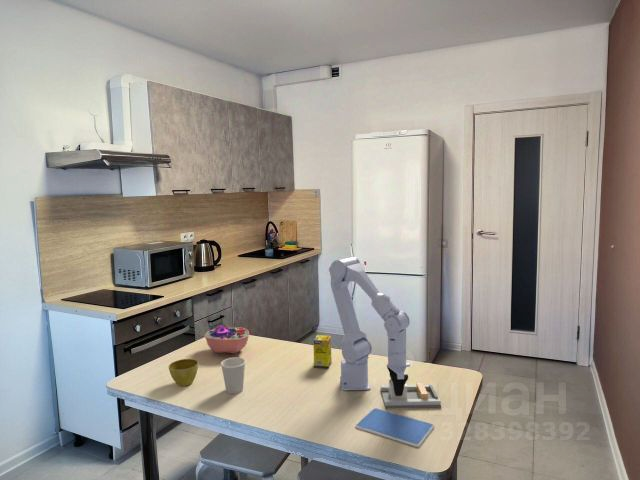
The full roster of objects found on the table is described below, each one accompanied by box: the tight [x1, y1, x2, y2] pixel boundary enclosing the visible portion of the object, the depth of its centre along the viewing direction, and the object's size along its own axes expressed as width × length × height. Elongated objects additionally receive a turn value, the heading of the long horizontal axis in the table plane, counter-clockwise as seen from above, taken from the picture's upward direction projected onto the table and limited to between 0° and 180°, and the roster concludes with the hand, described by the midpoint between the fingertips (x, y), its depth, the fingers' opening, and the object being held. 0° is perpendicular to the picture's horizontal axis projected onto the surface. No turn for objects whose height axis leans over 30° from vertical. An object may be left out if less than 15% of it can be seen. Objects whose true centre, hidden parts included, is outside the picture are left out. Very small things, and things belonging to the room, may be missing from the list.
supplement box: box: [312, 334, 333, 369], centre depth 171 cm, size 6×6×11 cm
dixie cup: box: [220, 357, 247, 395], centre depth 151 cm, size 8×8×10 cm
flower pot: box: [168, 358, 199, 387], centre depth 158 cm, size 10×10×7 cm
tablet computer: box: [354, 407, 435, 448], centre depth 126 cm, size 19×13×1 cm, turn 56°
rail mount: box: [380, 383, 442, 409], centre depth 143 cm, size 17×13×2 cm
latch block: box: [415, 382, 428, 399], centre depth 143 cm, size 2×8×2 cm, turn 179°
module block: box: [388, 378, 408, 399], centre depth 143 cm, size 5×5×4 cm
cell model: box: [203, 324, 250, 354], centre depth 187 cm, size 17×20×11 cm
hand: (397, 391), depth 143 cm, fingers closed on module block, 5 cm apart
